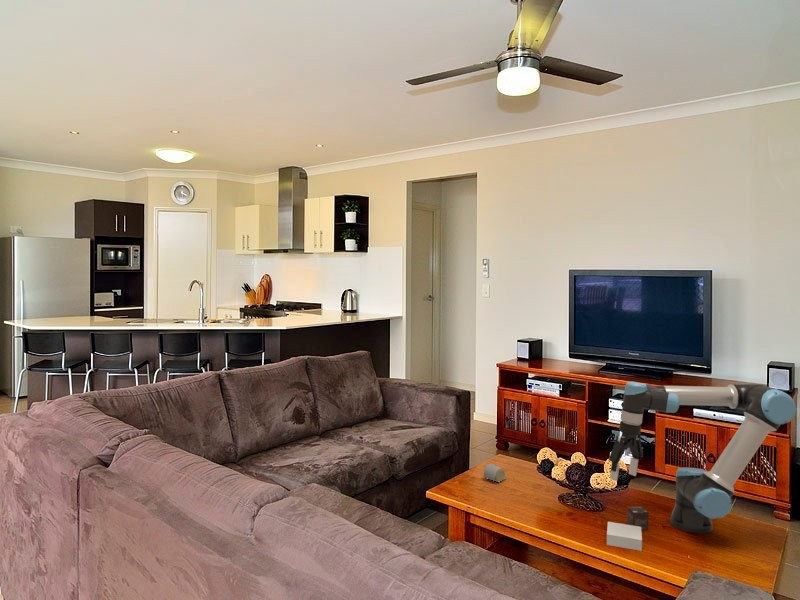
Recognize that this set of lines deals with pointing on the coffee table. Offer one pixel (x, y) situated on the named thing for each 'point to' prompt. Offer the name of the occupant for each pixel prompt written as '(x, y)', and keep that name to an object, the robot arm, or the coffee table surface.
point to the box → (638, 517)
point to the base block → (624, 536)
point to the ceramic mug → (494, 473)
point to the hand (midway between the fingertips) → (623, 477)
